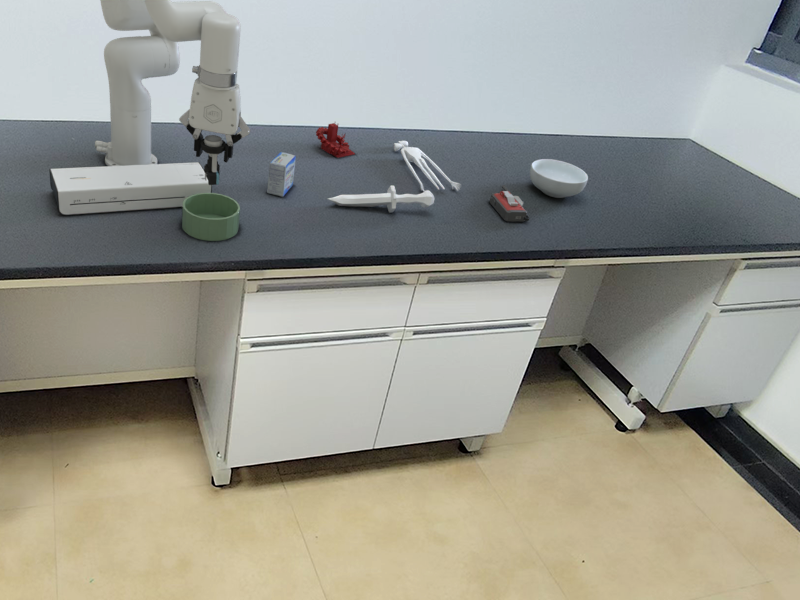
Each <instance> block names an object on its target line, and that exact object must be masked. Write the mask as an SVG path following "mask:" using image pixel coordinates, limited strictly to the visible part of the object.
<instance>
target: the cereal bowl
mask: <svg viewBox="0 0 800 600" xmlns="http://www.w3.org/2000/svg"><path fill="white" fill-rule="evenodd" d="M529 178H530V181H531V182H532V184H533V186H534V187H536V188H537V189H538V190H540V191H541V193H543V194H544V195H546V196H549V197H552V198H556V199H563V198H566V197H568V198H569V197H574V196H577V195H579V194H580V193H581V192H583V191H584V189H585V188H586V185H587V183H588V180H589V176H588V173H586V172H585V171H584V170H583V169H581V168H580V167H578V166H577V165H575V164H572V163H569V162H565V161H563V160H558V159H551V158H542V159H536V160H534V161H533V162H531V165H530V170H529Z"/></svg>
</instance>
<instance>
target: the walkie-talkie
mask: <svg viewBox="0 0 800 600" xmlns="http://www.w3.org/2000/svg"><path fill="white" fill-rule="evenodd" d="M505 185H506V184H502V185H501V189H502V190H501V191H499V192H492V193H491V194H490V197H489V198H490V199H489V203H490V205H491V206H492V207H493V208H494V209H495V211H496V212H497V213H498V214H499V216H500V217H501V218H502V219H503V220H504V221H505V222H507V223H508V222H516V223H517V222H518V223H519V222H522V223H523V222H525V221H526V222H529V221H530V216H529V215H528V211H527V210H526V209H525V208H524V207H523V206H524V201H522V199H521V198H520V196H519V195H515V194H513V193H512V192H511V191H510V190H509V188H507V186H505Z"/></svg>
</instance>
